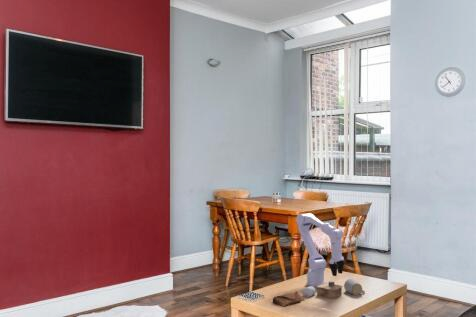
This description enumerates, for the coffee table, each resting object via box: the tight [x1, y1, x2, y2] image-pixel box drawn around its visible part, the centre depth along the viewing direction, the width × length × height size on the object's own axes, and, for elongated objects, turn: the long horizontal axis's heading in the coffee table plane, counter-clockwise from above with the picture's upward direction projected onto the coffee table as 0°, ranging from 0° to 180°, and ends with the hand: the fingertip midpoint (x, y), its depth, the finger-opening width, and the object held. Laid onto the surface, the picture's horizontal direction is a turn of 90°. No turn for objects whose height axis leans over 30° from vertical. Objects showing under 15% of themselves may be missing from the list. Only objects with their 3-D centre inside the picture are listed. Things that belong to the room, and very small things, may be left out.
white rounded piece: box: [301, 285, 317, 298], centre depth 238 cm, size 6×5×5 cm
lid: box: [316, 280, 343, 291], centre depth 239 cm, size 10×10×2 cm
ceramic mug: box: [343, 278, 365, 296], centre depth 243 cm, size 11×8×8 cm
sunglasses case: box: [272, 291, 306, 308], centre depth 228 cm, size 18×7×7 cm, turn 128°
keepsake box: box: [316, 287, 343, 300], centre depth 239 cm, size 10×10×4 cm
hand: (337, 274), depth 246 cm, fingers open, 7 cm apart
